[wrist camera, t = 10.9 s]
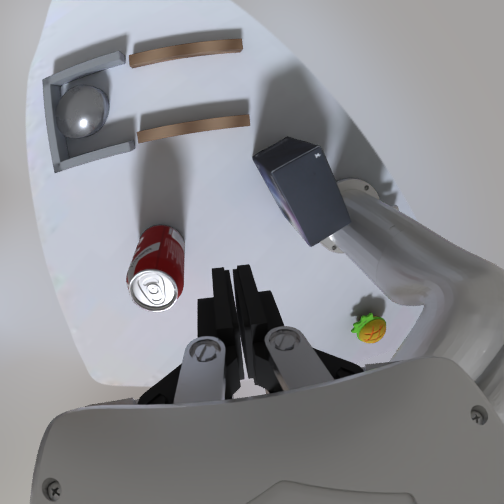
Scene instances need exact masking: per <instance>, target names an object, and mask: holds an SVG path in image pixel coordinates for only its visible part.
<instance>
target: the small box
mask: <svg viewBox="0 0 504 504" xmlns="http://www.w3.org/2000/svg"><path fill="white" fill-rule="evenodd" d="M252 158H253V161H254V162H255V164H256V166H257V168H258V170H259V172H260V173H261V175H262V177H263V179H264V181H265V183H266V184H267V186H268V188H269V190H270V192H271V193H272V195H273V197H274V199H275V201H276V202H277V204H278V206H279V208H280V210H281V211H282V213H283V215H284V216H285V218H286V219H287V220H288V221H289V222H290V223H291V225H292V226H293V227H294V228H295V229H296V231H297V232H298V233H299V234H300V235H301V236H302V238H303V239H304V240H305V241H306V242H307V244H308V245H309V246H310V247H312V246H314V245H315V244H317V243H319V242H321V241H322V240H324V239H326V238H327V237H329V236H331V235H332V234H334V233H335V232H337V231H339V230H340V229H342V228H344V227H345V226H347V225H348V224H350V223H351V222H352V221H351V218H350V216H349V213H348V210H347V208H346V205H345V202H344V200H343V197H342V195H341V192H340V190H339V187H338V185H337V182H336V180H335V178H334V175H333V173H332V171H331V168H330V166H329V164H328V161H327V159H326V157H325V155H324V153H323V150H322V148H321V146H319V145H314V144H311V143H308V142H304V141H301V140H297V139H294V138H291V137H286V138H284V139H283V140H282V141H279V142H278V143H276V144H274V145H273V146H271V147H268V148H267V149H265V150H262V151H261V152H259V153H258V154H256V155H255V156H253V157H252Z"/></svg>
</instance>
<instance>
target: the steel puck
mask: <svg viewBox="0 0 504 504" xmlns="http://www.w3.org/2000/svg"><path fill="white" fill-rule="evenodd" d="M108 114H109V101H108V98H107V96H106V94H105V93H104V92H103V91H102V90H100V89H98V88H96V87H92V86H88V85H79V86H76V87H73V88H71V89H70V90H68V91H67V92H66V93H65V94H64V95H63V96H62V98H61V99H60V101H59V103H58V105H57V108H56V114H55V119H56V124H57V127H58V129H59V130H60V132H61V133H62V134H63V135H65V136H66V137H69V138H82V137H86V136H89V135H92V134H94V133H96V132H97V131H98V130H99V129H100V128H101V127H102V126H103V125H104V123H105V122H106V120H107V117H108Z"/></svg>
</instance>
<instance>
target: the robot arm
mask: <svg viewBox="0 0 504 504" xmlns="http://www.w3.org/2000/svg"><path fill="white" fill-rule="evenodd" d="M337 185H338V187H339V190H340V192H341V195H342V197H343V200H344V202H345V205H346V208H347V210H348V213H349V216H350V218H351V221H352V222H351V223H350V224H348V225H347V226H345V227H344V228H342V229H340V230H339V231H337V232H335V233H334V234H332V235H331V236H329V237H327V238H326V239H324V240H322V241H321V242H320V243H321V244H322V245H323V246H324V247H325V248H326V249H328V250H329V251H331V252H335V253H345V254H346V255H347V256H348V257H349V258H350V259H351V260H352V261H353V262H354V263H355V264H356V265H357V266H358V267H359V268H360V269H361V270H362V271H363V272H364V273H365V274H366V276H367V277H368V278H369V279H370V280H371V281H372V282H373V283H374V284H375V285H376V286H377V287H378V288H379V289H380V290H381V291H382V292H383V293H384V294H385V295H386V296H387V297H388V298H389V299H390V300H392V301H393V302H395V303H397V304H400V305H404V306H420V305H424V308H423V311H422V313H421V315H420V316H419V318H418V320H417V321H416V324H415V325H414V327H413V328H412V330H411V331H410V333H409V334H408V336H407V337H406V339H405V340H404V341H403V343H402V344H401V346H400V347H399V348H398V350H397V351H396V353H395V354H394V356H393V357H392V358H391V360H390V361H389V362H386V363H376V364H366V365H365V367H362V368H361V367H360V366H358V365H356V364H354V363H352V362H349V361H346V360H343V359H341V358H338V357H335V356H333V355H330V354H327V353H325V352H322V351H320V350H317V349H314V348H312V347H311V345H310V344H309V342H308V341H307V339H306V338H305V336H304V335H303V334H302V333H301V332H300V331H299V330H297V329H296V328H293V327H289V326H284V324H283V321H282V318H281V316H280V313H279V310H278V308H277V305H276V303H275V300H274V297H273V295H272V292H271V291H262V292H258V290H257V287H256V284H255V281H254V278H253V274H252V271H251V268H250V265H249V264H248V265H240V266H237V269H233V279H234V289H235V300H236V307H235V301H234V296H233V290H232V284H231V279H230V273H229V270H224V267H222V268H213V269H212V279H213V294H214V297H212V298H203V299H198V338H196V339H194V340H193V341H191V342H190V343H189V344H188V345H187V347H186V349H185V353H184V357H183V361H182V364H181V365H179V366H178V367H177V368H176V369H174V370H173V371H172V372H171V373H169V374H168V375H167V376H165V377H164V378H163V379H162V380H160V381H159V382H158V383H157V384H155V385H154V386H153V387H151V388H150V389H149V390H148V391H147V392H145V393H144V394H143V395H142V396H141V397H140V399H137V400H134V399H133V398H128V399H122V400H117V401H111V402H105V403H98V404H92V405H88V406H85V407H82V408H77V409H74V410H70V411H67V412H64V413H62V414H60V415H58V416H56V417H55V418H54V419H53V420H52V421H51V422H50V424H49V425H48V427H47V428H46V430H45V433H44V435H43V438H42V440H41V443H40V447H39V450H38V454H37V459H36V463H35V468H34V473H33V480H32V488H31V498H30V504H504V270H503V269H502V268H500V267H498V266H497V265H495V264H493V263H491V262H489V261H487V260H485V259H483V258H481V257H479V256H477V255H474V254H472V253H470V252H468V251H466V250H464V249H462V248H460V247H458V246H457V245H455V244H453V243H451V242H450V241H448V240H446V239H445V238H443V237H441V236H440V235H438V234H436V233H435V232H433V231H431V230H430V229H428V228H427V227H425V226H423V225H422V224H420V223H418V222H417V221H415V220H414V219H412V218H410V217H408V216H407V215H405V214H403V213H402V212H400V211H399V210H398V206H397V205H393V206H389V205H388V204H386V203H384V202H382V201H380V198H379V196H378V193H377V192H376V190H375V189H374V188H373V187H372V186H371V185H370V184H368V183H367V182H365V181H362V180H360V179H355V178H347V179H343V180H339V181H337ZM236 310H237V312H236ZM240 337H241V340H240ZM241 342H242V347H243V353H244V358H245V363H246V368H247V373H248V378H249V379H250V378H254V383H255V385H259V386H261V387H263V388H265V391H266V394H265V395H258V396H251V397H245V398H237V399H234V397H233V394H234V393H235V392H236V391H237V390H238V389H239V388H240V387H241V386H240V380H242V379H244V369H243V360H242V350H241Z"/></svg>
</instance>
